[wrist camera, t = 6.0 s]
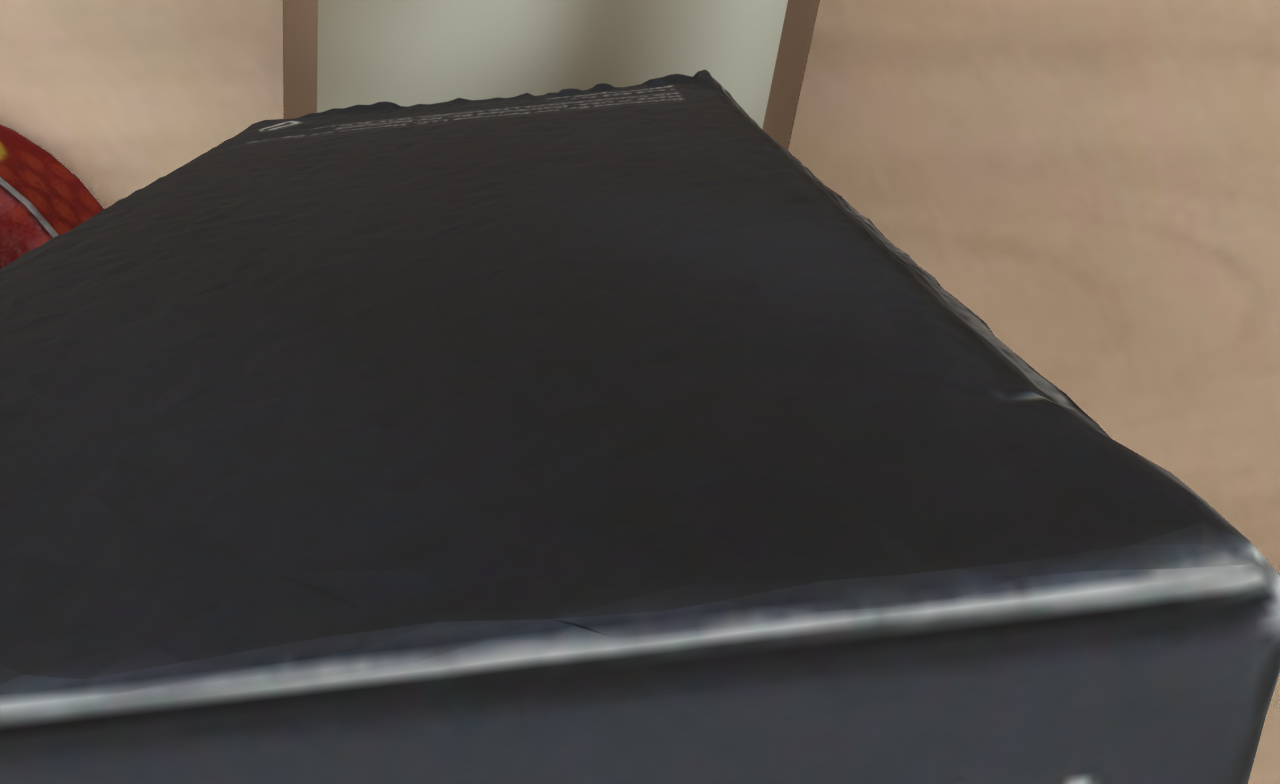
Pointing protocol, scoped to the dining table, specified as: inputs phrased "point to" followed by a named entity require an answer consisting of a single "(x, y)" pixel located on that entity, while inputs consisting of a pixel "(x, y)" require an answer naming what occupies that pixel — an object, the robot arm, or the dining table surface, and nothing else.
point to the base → (542, 50)
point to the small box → (574, 483)
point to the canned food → (36, 197)
